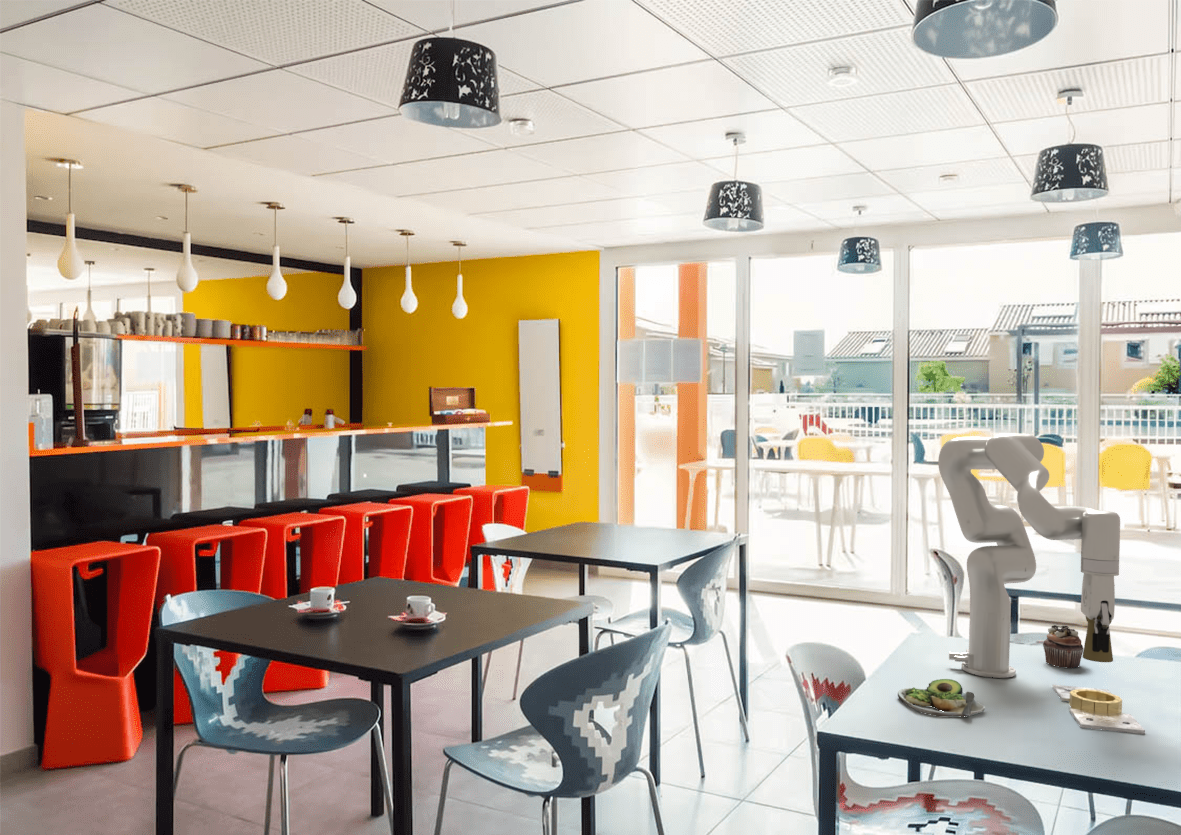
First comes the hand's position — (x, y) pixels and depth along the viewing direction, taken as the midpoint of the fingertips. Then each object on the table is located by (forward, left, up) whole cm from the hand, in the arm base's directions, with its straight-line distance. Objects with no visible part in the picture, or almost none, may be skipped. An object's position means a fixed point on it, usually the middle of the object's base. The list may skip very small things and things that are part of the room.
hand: (1097, 648), depth 214 cm
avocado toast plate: (-33, -8, -14) cm, 37 cm away
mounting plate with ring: (0, 0, -14) cm, 14 cm away
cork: (0, 0, -3) cm, 2 cm away
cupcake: (+1, +40, -14) cm, 42 cm away
